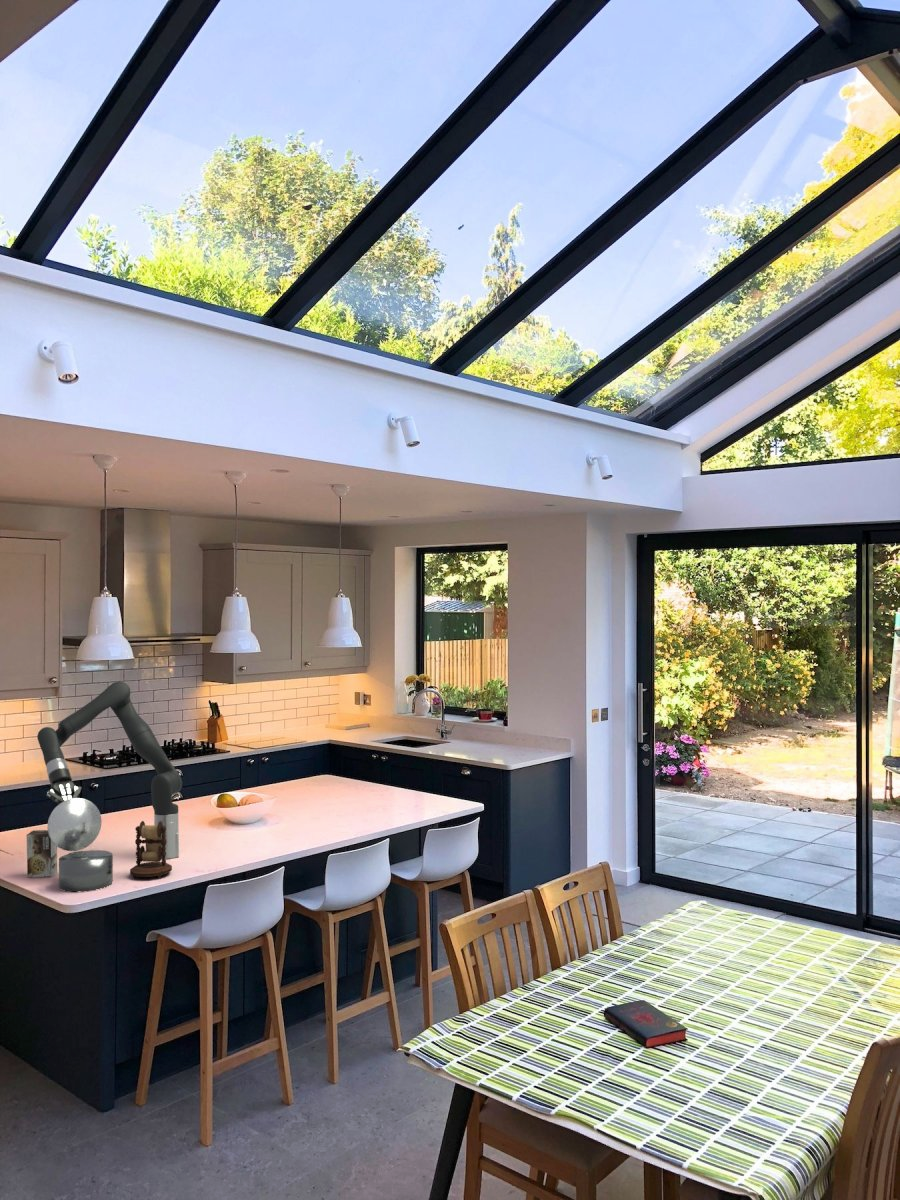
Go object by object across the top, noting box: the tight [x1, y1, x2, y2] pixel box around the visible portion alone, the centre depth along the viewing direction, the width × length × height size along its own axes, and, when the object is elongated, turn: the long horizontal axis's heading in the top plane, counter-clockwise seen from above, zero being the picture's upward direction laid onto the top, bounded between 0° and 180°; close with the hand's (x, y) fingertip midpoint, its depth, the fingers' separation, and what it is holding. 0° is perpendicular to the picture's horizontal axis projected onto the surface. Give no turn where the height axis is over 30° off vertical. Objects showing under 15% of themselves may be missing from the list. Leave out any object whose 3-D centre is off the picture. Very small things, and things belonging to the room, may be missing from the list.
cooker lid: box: [46, 797, 102, 852], centre depth 352 cm, size 19×19×3 cm
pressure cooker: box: [58, 849, 114, 892], centre depth 343 cm, size 19×18×10 cm
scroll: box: [129, 820, 173, 880], centre depth 354 cm, size 15×15×20 cm
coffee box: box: [26, 829, 58, 878], centre depth 355 cm, size 9×6×16 cm
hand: (70, 810), depth 354 cm, fingers closed
